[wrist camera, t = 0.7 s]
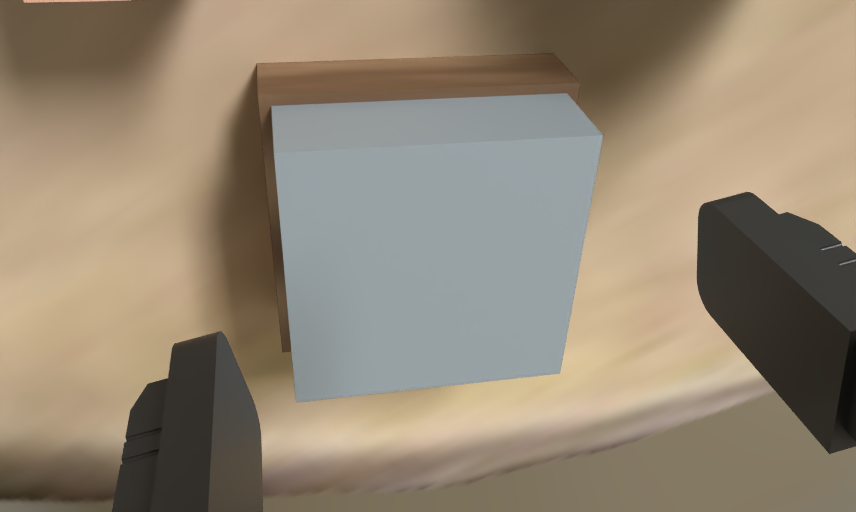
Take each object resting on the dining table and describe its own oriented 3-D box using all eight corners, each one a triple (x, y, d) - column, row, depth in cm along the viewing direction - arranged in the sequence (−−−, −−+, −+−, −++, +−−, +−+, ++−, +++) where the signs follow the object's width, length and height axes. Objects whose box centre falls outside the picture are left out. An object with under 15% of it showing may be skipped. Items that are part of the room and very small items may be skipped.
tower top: (271, 106, 29) (273, 153, 26) (567, 93, 31) (603, 135, 28) (292, 342, 36) (295, 402, 33) (533, 318, 38) (559, 373, 35)
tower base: (257, 58, 32) (257, 95, 29) (549, 49, 35) (580, 82, 31) (279, 301, 40) (282, 352, 36) (519, 280, 42) (542, 326, 39)
